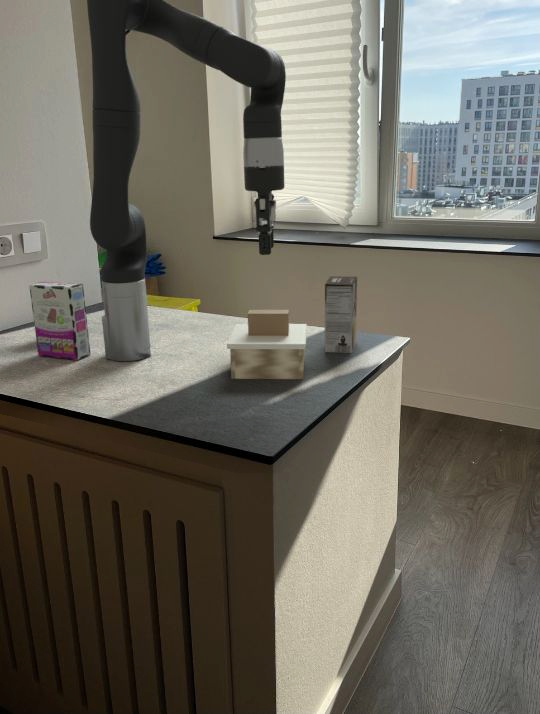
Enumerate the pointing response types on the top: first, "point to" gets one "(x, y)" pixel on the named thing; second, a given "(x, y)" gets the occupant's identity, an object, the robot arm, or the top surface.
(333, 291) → the coffee box
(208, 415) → the top surface
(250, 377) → the birch box
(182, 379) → the top surface
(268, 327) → the lid
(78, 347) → the candy bar box
